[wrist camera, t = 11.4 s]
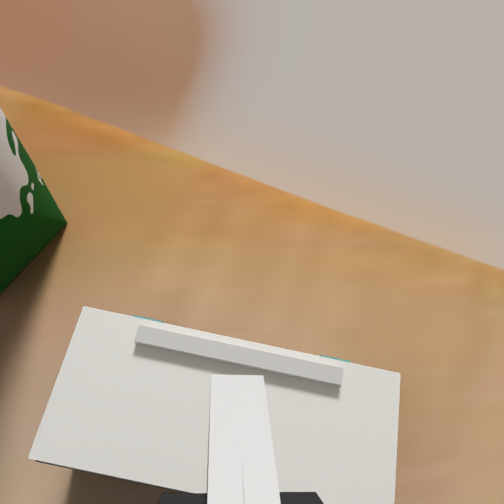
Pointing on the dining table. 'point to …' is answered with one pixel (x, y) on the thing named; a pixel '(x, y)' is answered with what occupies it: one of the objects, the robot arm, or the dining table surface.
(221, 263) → the dining table surface
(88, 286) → the dining table surface
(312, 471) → the cover
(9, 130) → the milk carton
